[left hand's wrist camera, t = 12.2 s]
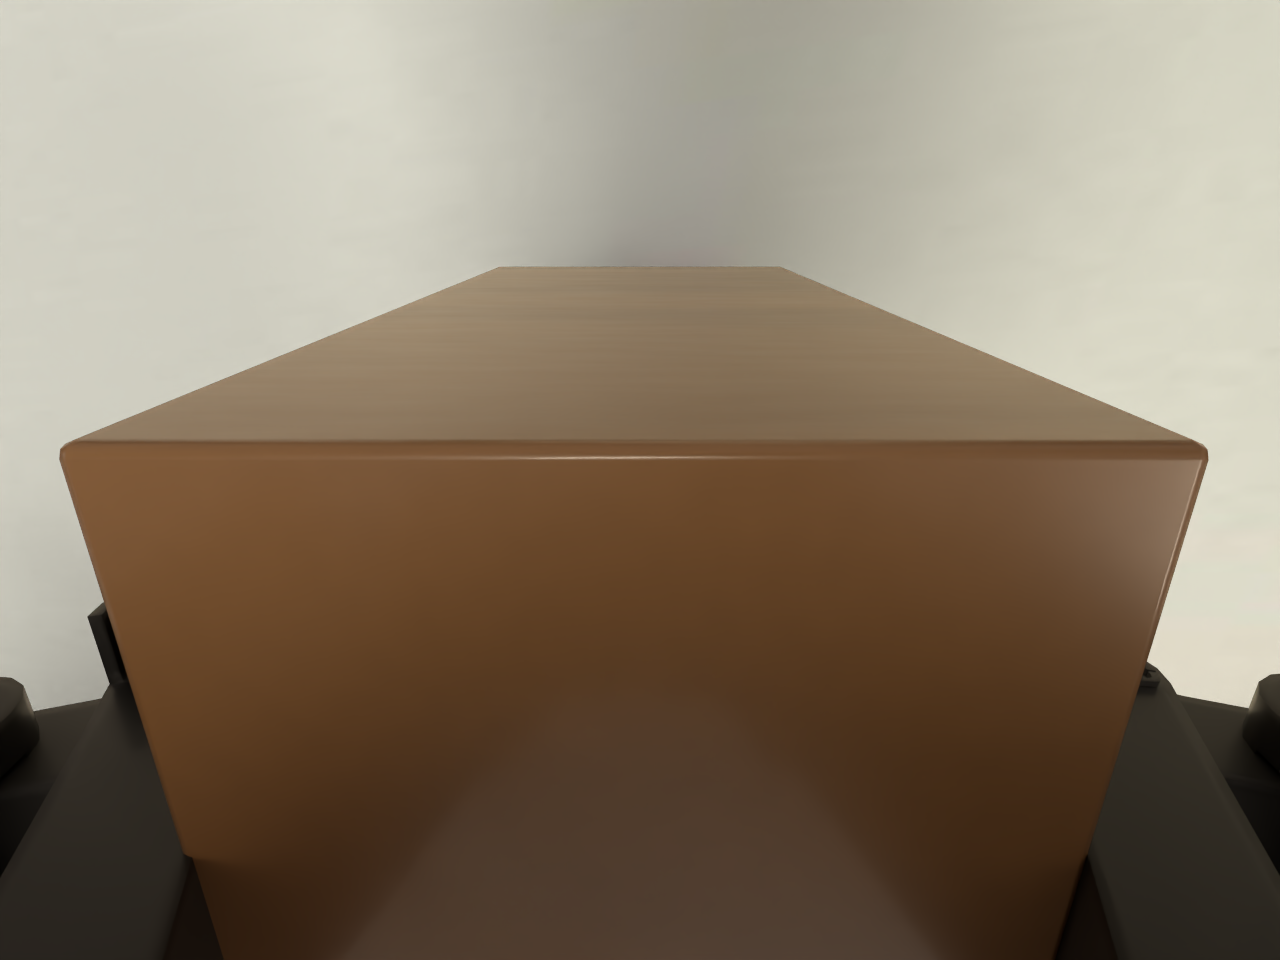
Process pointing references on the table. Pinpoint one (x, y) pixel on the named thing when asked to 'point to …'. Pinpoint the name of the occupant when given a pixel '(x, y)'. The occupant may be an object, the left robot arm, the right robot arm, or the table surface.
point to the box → (635, 626)
